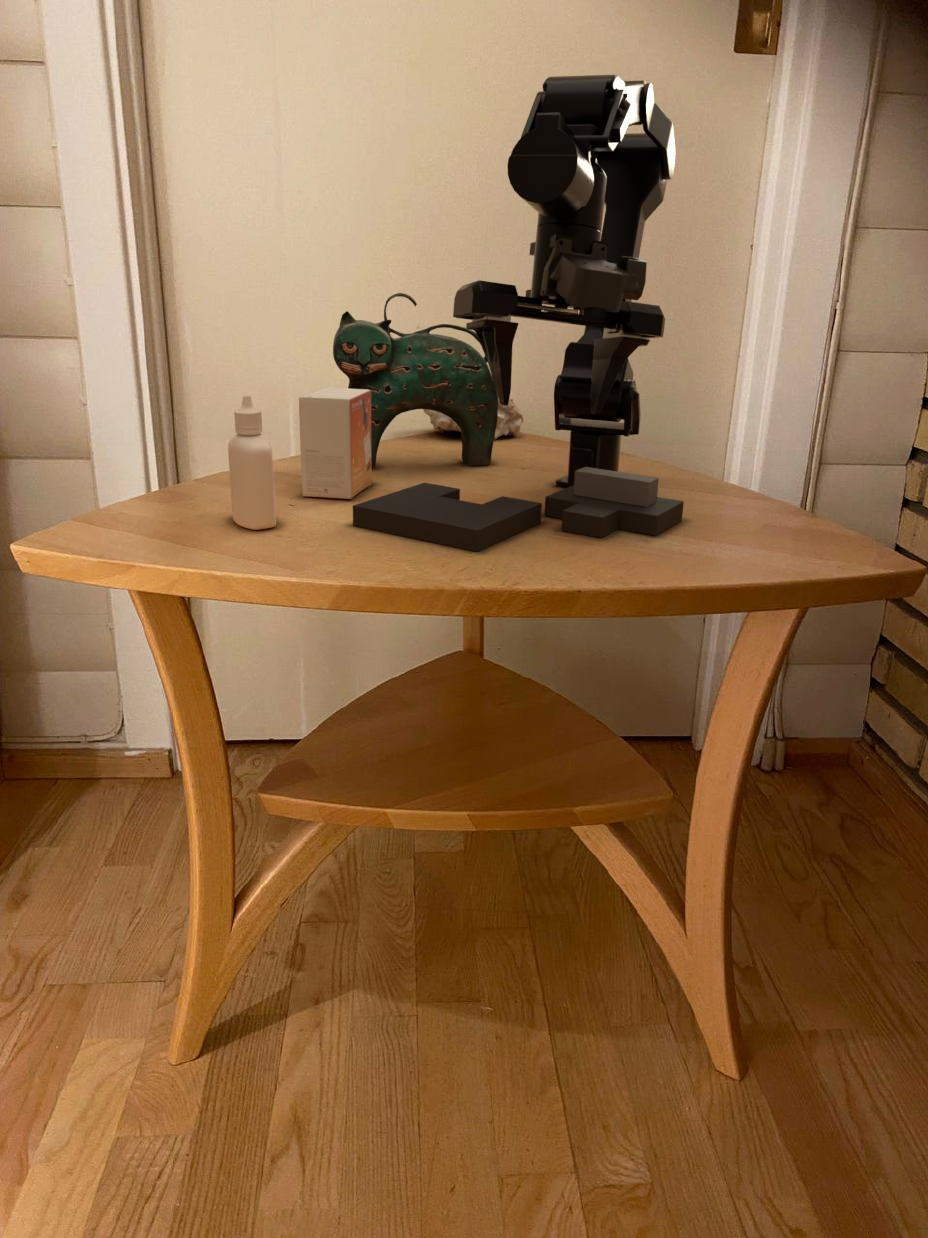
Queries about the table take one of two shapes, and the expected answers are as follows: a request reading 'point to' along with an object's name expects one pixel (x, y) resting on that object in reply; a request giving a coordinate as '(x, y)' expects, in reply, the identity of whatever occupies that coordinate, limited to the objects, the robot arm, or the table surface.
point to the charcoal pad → (446, 516)
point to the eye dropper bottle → (251, 471)
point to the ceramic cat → (420, 379)
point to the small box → (335, 442)
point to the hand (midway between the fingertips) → (550, 409)
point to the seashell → (506, 421)
